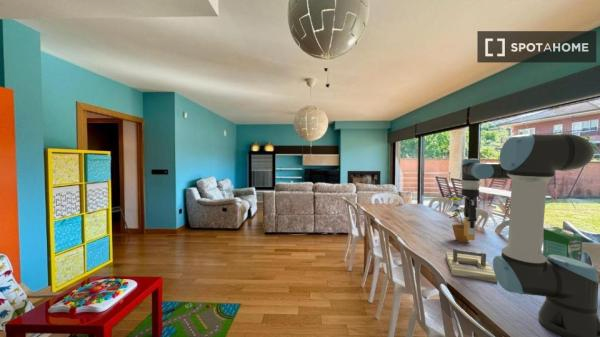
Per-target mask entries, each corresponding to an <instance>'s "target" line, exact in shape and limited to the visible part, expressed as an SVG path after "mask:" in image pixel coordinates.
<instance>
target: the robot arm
mask: <svg viewBox="0 0 600 337" xmlns="http://www.w3.org/2000/svg"><path fill="white" fill-rule="evenodd" d="M594 154H595V150H594V147H593V144H592V143H591V142H590V141H589V140H587V139H586V138H584V137H583V136H580V135H577V134H572V133H559V134H558V133H557V134H556V133H554V134H553V133H552V134H551V133H549V134H546V133H545V134H541V133H540V134H538V133H537V134H535V133H534V134H533V133H531V134H529V133H527V134H518V135H513V136H510V137H508V139H506V141H505V142H504V143H503V145H502V147H501V149H500V152H499V162H481V160H480V159H479V158H463V159H462V164H461V196H462V197H464V205H463V207H464V208H463V209H464V210H463V215H464V218H467V219H469V220H467V221H468V234H473V235H475V236H476V233H475V232H476V222H477V220H476V218H477V208H476V207H477V201H476V200H475V198H479V197H480V189H479V188H480V185H481V182H480V180H487V179H488V180H489V179H490V180H493V179H495V180H501V179H502V180H511V191H510V204H509V205H510V206H509V217H508V218H509V220H508V221H509V222H508V235H507V246H505V247H503V248H502V249H501V255H497V256H494V257H493V260H492V267H493V268H492V269H493V271H494V273H495V276H496V278H497V283H498V284H499V285H500V287H501V288H502V289H503V290H505V291H506V292H508V293H514V294H519V295H527V296H528V295H529V296H538V297H545V300H544V301H543V303H542V306H541V307H540V309H539V310H538V322H539V323H540V324H541V325H542V326H543V327H544V328H545V329H547V330H549V331H551V332H552V333H555V334H557V335H558V336H561V337H600V317H599V315H598V300H599V298H598V297H599V284H600V279H599V278H600V277H599V272H598V270H597V268H596V267H595V266H592V265H590V264H589V263H587V262H584V261H582V260H581V261H578V260H575V259H572V258H568V257H564V256H559V255H548V256H547V257H545V256H544V255H543V252H542V249H543V247H542V246H543V238H544V221H545V212H546V198H547V187H548V185H547V184H548V182H549V181H551V179H554V178H555V171H564V172H565V171H571V170H577V169H580V168H581V169H582V168H583V167H585V166H587V165H589V163H591V161H592V160H593V158H594ZM472 218H473V219H472Z"/></svg>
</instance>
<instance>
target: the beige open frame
mask: <svg viewBox="0 0 600 337" xmlns="http://www.w3.org/2000/svg"><path fill="white" fill-rule="evenodd" d="M445 259H446V261H447V263H448V267H449V271H450V273H451V275H452V276H457V277H463V278H469V279H475V280H479V281H480V280H481V281H488V282H493V283H498V280H497V278H496V276H495V273H494V269H493V268H492V266H491V265H490V264H489V262H488V261H487V260H486V266H484V265H481V256H474V255H466V254H459V253H457V262H456V261H453V252H445ZM460 264H468V265H473V266H474V265H475V266H477V267H478V268H474V267H469V266H461V265H460Z"/></svg>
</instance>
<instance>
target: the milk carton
mask: <svg viewBox="0 0 600 337" xmlns="http://www.w3.org/2000/svg"><path fill="white" fill-rule="evenodd" d="M542 246H543V247H542V249H543V250H542V254H543V255H544V256H545V257H547V256H548V255H559V256H564V257H568V258H572V259H575V260H578V261H581V262H582V257H583V254H582V251H583V250H582V249H583V236H580V235H579V234H576V233H574V232H572V231H570V230H567V229H563V228H561V227H559V226H553V227H543V239H542Z"/></svg>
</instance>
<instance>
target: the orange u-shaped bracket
mask: <svg viewBox="0 0 600 337" xmlns="http://www.w3.org/2000/svg"><path fill="white" fill-rule="evenodd" d="M467 220H469V219H467V218H465V217H464V219H463V221H464V223H463V225H464V235H465V236H467V240H469V241H475V240H476V239H475V238H476V237H475V236H476V234H475V235H473V234H468V221H467Z"/></svg>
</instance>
